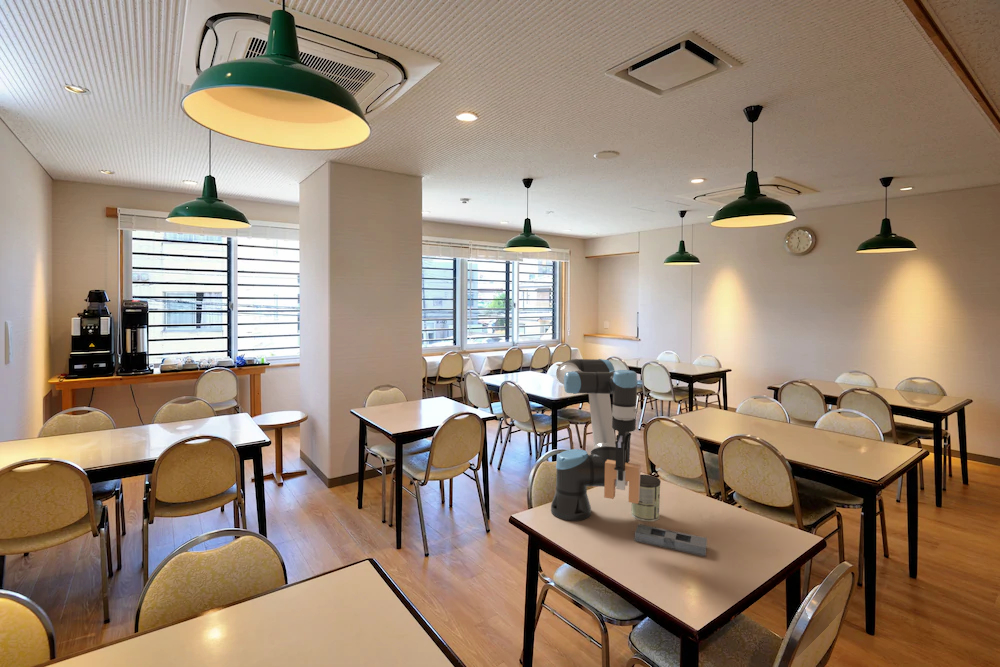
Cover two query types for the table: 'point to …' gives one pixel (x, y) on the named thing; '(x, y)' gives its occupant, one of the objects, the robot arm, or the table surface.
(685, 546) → the rail
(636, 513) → the coffee can
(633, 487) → the tan wooden block
